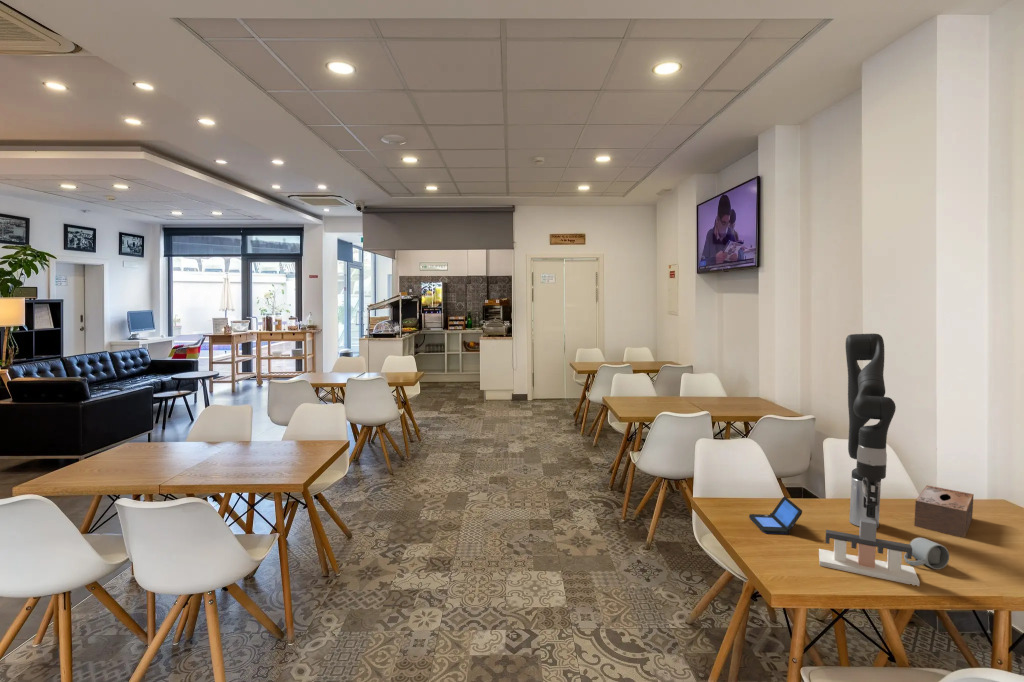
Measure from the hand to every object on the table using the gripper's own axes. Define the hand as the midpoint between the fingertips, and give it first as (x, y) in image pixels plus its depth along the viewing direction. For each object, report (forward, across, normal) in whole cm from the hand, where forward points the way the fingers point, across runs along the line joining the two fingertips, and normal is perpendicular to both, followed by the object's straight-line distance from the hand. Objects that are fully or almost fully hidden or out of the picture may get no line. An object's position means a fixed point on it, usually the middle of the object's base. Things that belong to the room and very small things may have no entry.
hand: (868, 512), depth 163 cm
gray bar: (+12, 0, 0) cm, 12 cm away
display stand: (+18, 0, 0) cm, 18 cm away
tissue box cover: (+19, -60, +30) cm, 69 cm away
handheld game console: (+18, -23, -27) cm, 40 cm away
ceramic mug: (+18, -13, +16) cm, 28 cm away
